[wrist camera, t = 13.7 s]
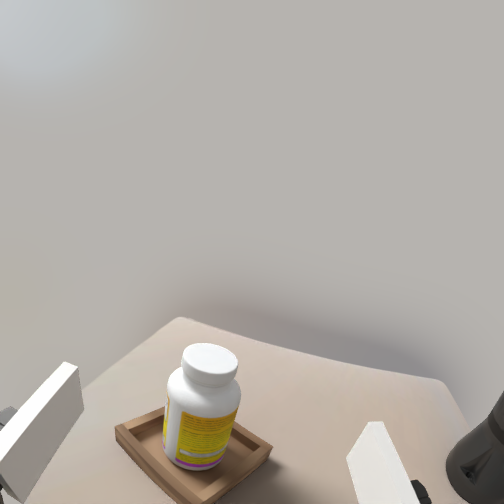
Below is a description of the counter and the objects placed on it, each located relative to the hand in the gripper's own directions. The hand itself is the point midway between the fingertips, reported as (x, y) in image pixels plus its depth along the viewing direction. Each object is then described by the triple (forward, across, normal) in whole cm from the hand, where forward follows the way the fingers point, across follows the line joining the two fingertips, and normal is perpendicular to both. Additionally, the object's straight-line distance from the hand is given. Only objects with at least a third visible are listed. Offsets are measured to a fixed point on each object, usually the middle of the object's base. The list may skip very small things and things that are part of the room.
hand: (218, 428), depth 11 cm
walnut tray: (+12, -2, -18) cm, 22 cm away
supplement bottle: (+12, -2, -17) cm, 21 cm away
